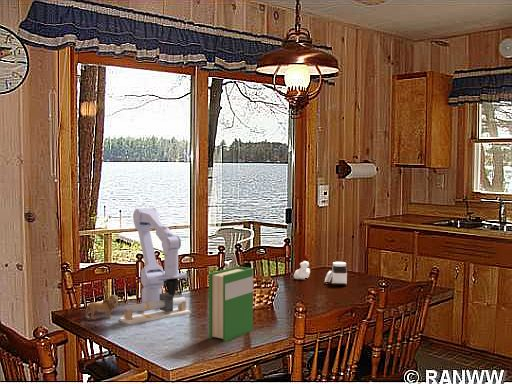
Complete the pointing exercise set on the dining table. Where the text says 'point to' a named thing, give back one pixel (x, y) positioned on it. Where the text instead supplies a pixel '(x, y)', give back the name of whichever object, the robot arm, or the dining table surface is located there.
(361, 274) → the dining table surface
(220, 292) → the hardback book
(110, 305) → the lion figurine
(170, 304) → the collar
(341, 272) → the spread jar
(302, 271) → the duck figurine
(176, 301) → the pipe stand
